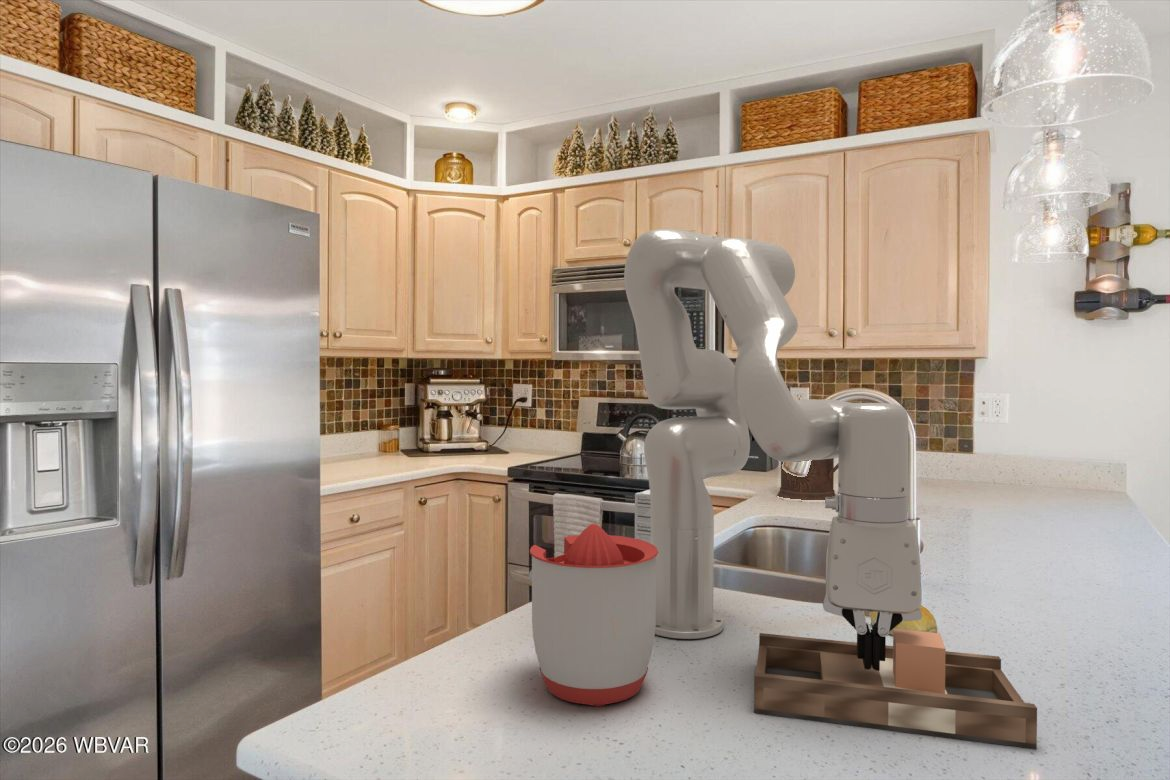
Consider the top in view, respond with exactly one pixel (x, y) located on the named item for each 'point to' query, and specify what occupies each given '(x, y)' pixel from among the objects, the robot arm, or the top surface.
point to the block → (918, 660)
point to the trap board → (889, 693)
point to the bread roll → (915, 622)
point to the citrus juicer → (594, 616)
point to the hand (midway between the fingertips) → (870, 665)
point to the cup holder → (810, 482)
